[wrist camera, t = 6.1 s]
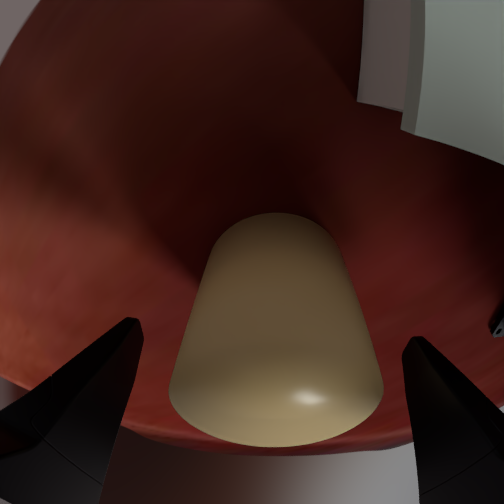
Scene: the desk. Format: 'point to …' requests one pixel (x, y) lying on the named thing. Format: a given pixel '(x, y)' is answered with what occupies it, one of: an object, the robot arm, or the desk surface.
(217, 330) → the beige rounded cylinder
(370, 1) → the storage box
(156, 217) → the desk surface
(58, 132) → the desk surface
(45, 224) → the desk surface
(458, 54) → the box lid
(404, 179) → the desk surface
